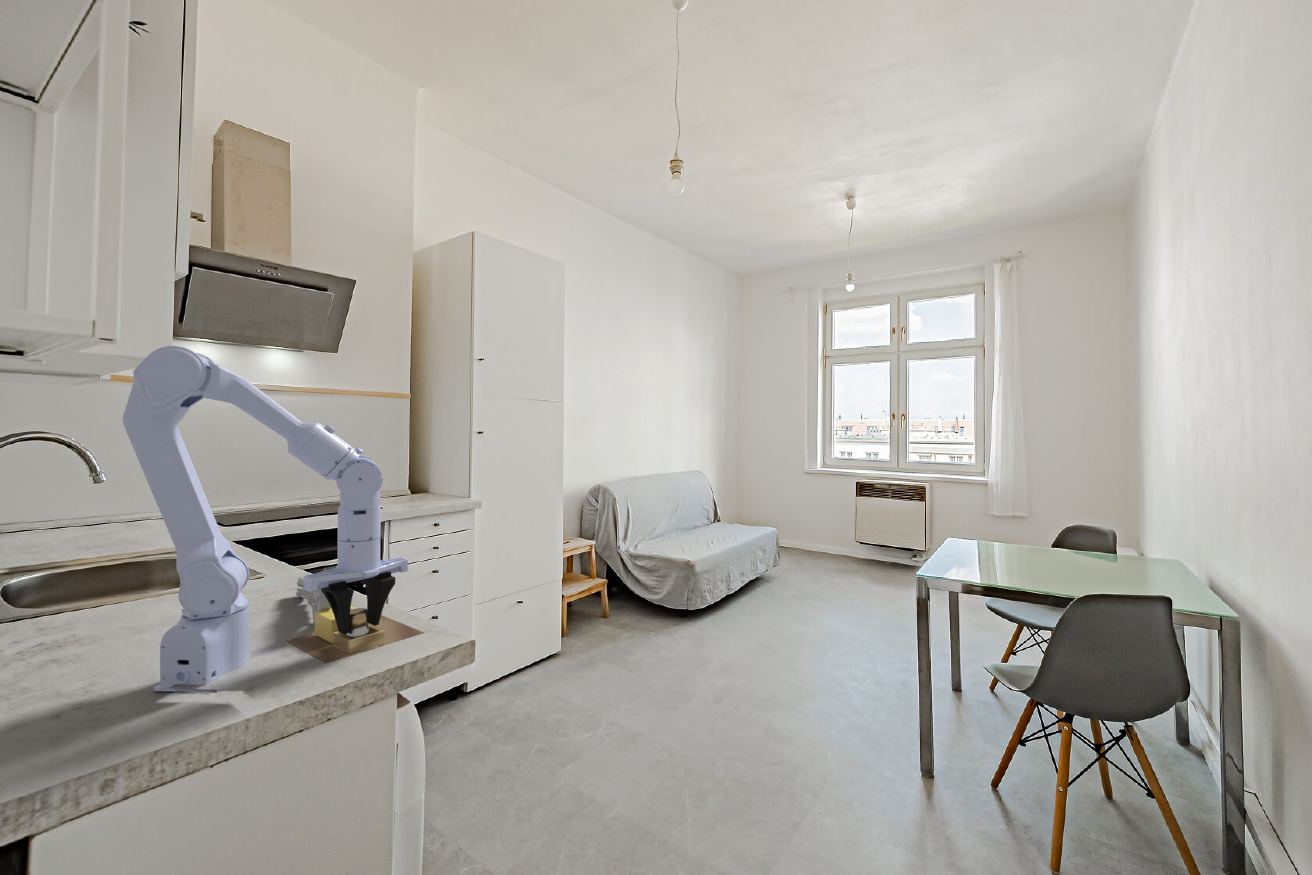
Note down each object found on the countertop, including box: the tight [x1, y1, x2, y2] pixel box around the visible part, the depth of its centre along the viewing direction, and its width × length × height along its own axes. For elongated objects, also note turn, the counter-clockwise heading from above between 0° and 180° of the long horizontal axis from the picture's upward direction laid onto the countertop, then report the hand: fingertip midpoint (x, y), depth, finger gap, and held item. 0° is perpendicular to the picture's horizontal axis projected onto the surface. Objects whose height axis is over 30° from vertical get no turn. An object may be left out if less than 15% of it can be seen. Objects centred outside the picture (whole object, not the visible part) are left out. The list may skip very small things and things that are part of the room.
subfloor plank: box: [285, 614, 425, 664], centre depth 90 cm, size 15×13×3 cm
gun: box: [295, 576, 331, 626], centre depth 102 cm, size 2×30×8 cm, turn 38°
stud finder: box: [314, 605, 358, 643], centre depth 90 cm, size 5×6×4 cm
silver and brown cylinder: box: [346, 607, 369, 639], centre depth 86 cm, size 3×3×5 cm
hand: (358, 627), depth 87 cm, fingers open, 4 cm apart
